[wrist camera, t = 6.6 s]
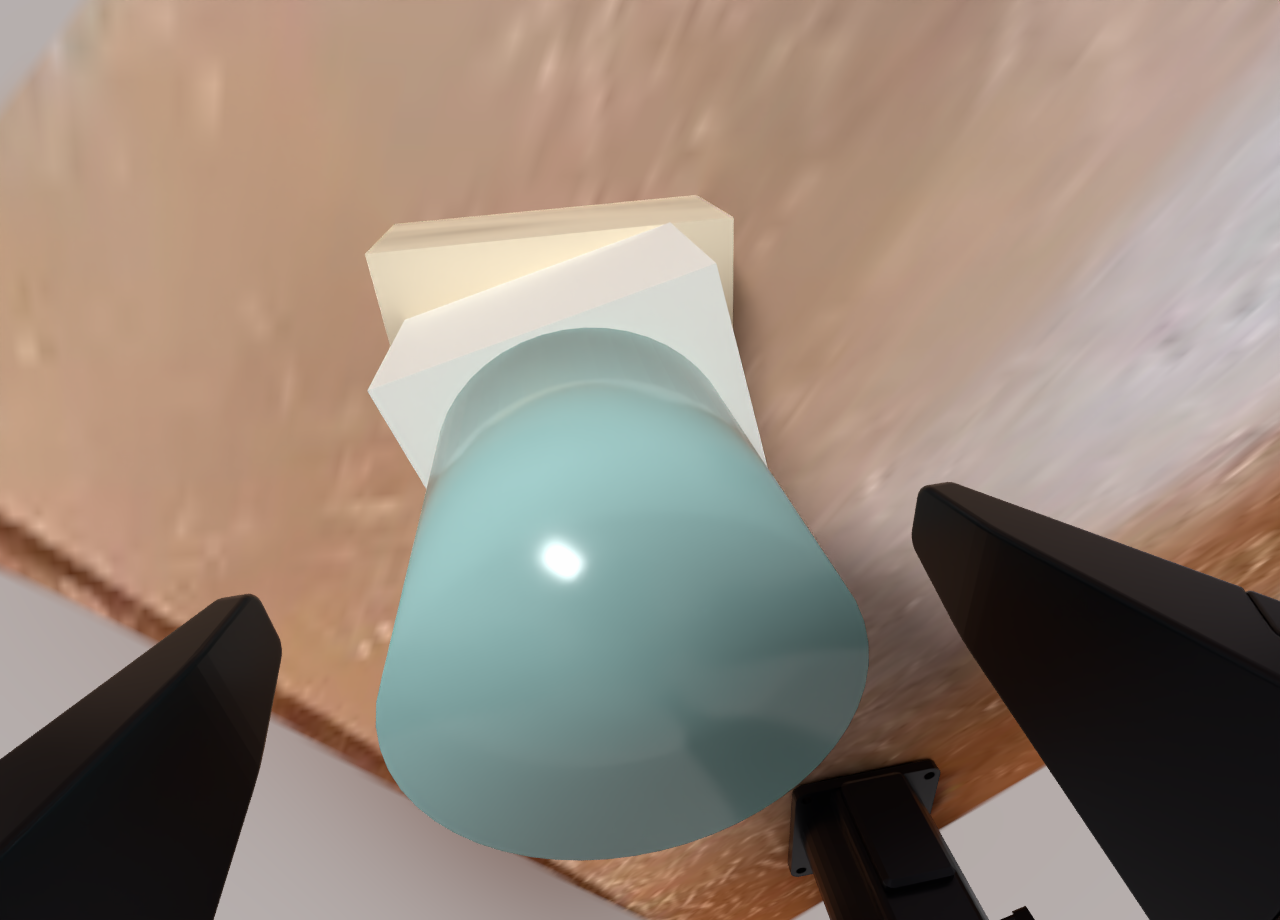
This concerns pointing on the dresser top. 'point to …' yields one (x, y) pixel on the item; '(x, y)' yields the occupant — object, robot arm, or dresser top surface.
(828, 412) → the dresser top surface
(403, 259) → the tower base
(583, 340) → the teal rounded cylinder
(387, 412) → the tower mid
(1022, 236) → the dresser top surface
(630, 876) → the dresser top surface
